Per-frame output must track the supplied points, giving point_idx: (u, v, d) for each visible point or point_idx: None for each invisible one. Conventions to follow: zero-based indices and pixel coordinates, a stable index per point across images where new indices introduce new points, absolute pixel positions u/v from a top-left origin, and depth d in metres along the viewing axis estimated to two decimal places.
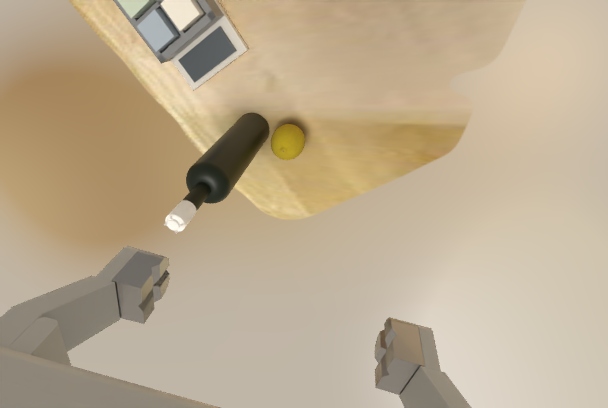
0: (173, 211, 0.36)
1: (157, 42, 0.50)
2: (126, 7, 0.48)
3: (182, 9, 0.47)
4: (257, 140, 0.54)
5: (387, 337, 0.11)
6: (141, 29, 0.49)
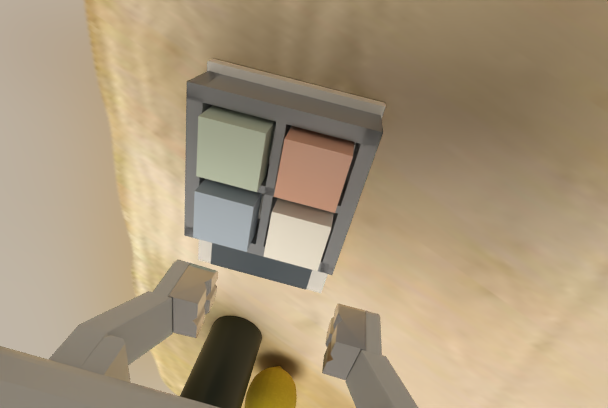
0: None
1: (211, 233, 0.24)
2: (204, 159, 0.21)
3: (298, 246, 0.23)
4: None
5: (335, 323, 0.11)
6: (199, 200, 0.23)
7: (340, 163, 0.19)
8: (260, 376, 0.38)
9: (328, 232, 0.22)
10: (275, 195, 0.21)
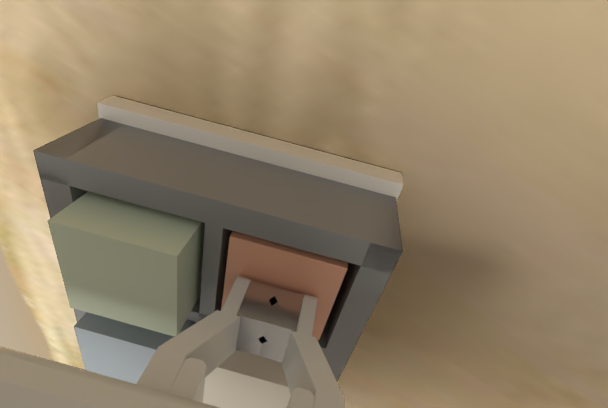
0: None
1: None
2: (77, 286, 0.12)
3: None
4: None
5: (272, 306, 0.12)
6: (85, 339, 0.13)
7: (326, 277, 0.11)
8: None
9: None
10: None
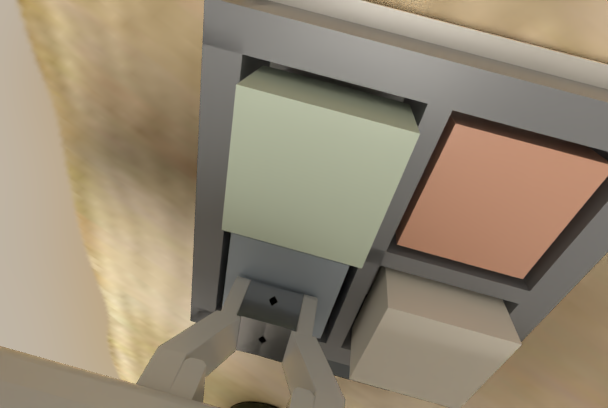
0: None
1: None
2: (244, 195, 0.09)
3: (431, 370, 0.11)
4: None
5: (273, 306, 0.12)
6: (239, 251, 0.11)
7: (576, 181, 0.09)
8: None
9: (510, 352, 0.10)
10: (401, 242, 0.10)
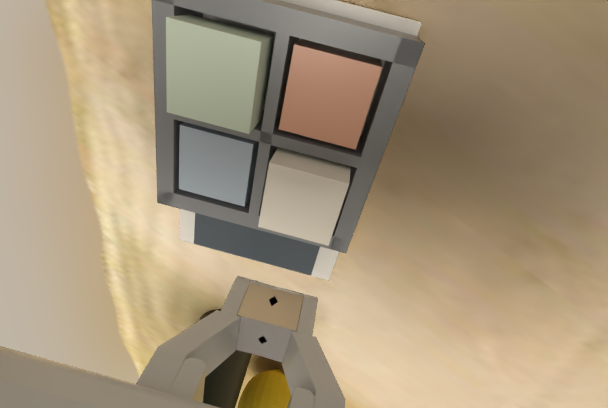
0: None
1: (200, 183, 0.19)
2: (177, 86, 0.15)
3: (304, 211, 0.18)
4: None
5: (273, 306, 0.12)
6: (185, 138, 0.18)
7: (365, 78, 0.15)
8: (254, 381, 0.32)
9: (344, 191, 0.17)
10: (281, 127, 0.17)
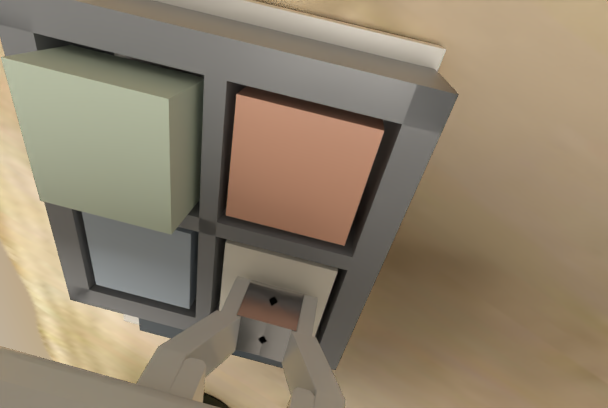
0: None
1: (124, 279, 0.14)
2: (46, 165, 0.09)
3: None
4: None
5: (273, 306, 0.12)
6: (92, 223, 0.12)
7: (357, 147, 0.09)
8: None
9: (331, 280, 0.12)
10: (228, 213, 0.11)
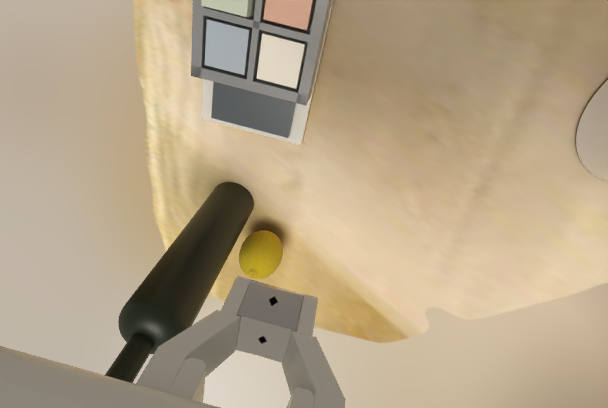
0: None
1: (217, 59, 0.33)
2: None
3: (281, 65, 0.32)
4: None
5: (273, 306, 0.12)
6: (210, 28, 0.31)
7: None
8: (252, 233, 0.45)
9: (302, 49, 0.31)
10: (264, 17, 0.30)
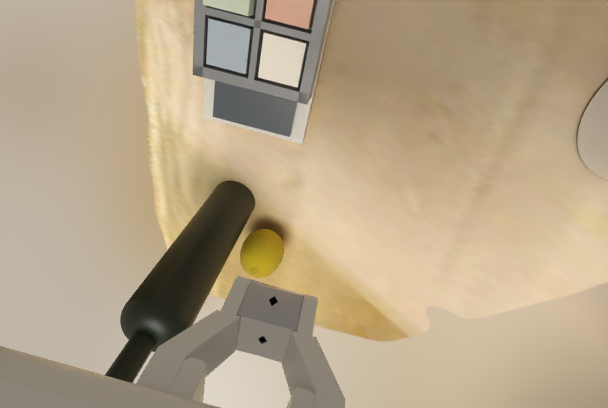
0: None
1: (219, 58, 0.33)
2: None
3: (283, 64, 0.32)
4: None
5: (273, 306, 0.12)
6: (211, 27, 0.31)
7: None
8: (253, 232, 0.45)
9: (304, 48, 0.31)
10: (266, 16, 0.30)
